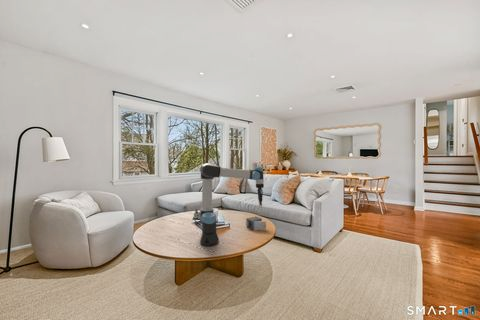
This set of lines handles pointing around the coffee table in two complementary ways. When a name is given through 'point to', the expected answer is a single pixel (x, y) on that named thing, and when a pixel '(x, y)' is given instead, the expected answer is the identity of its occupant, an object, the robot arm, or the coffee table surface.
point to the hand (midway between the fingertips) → (260, 207)
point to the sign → (196, 215)
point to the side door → (259, 225)
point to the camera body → (250, 221)
